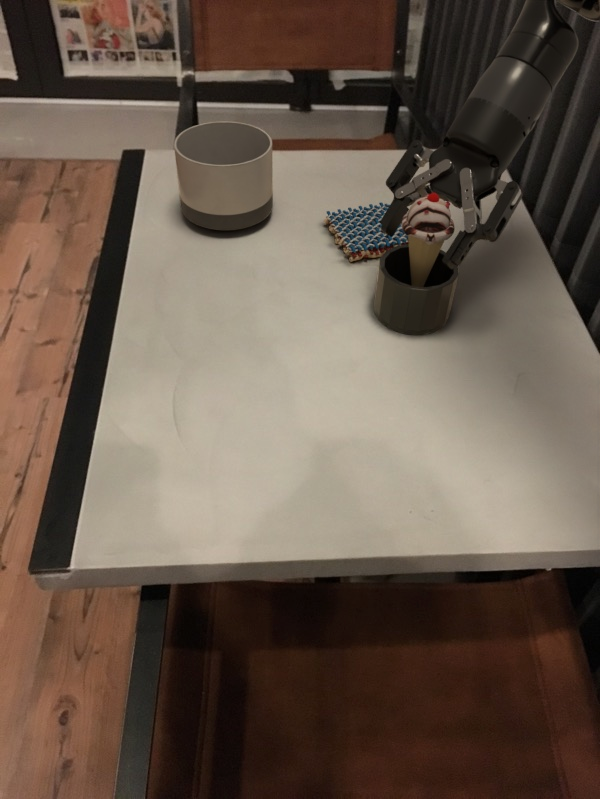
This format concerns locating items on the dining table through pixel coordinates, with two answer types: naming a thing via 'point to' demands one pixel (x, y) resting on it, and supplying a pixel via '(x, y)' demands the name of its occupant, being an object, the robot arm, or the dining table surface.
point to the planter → (225, 174)
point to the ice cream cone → (426, 234)
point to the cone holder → (413, 294)
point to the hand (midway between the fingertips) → (415, 249)
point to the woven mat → (364, 232)
